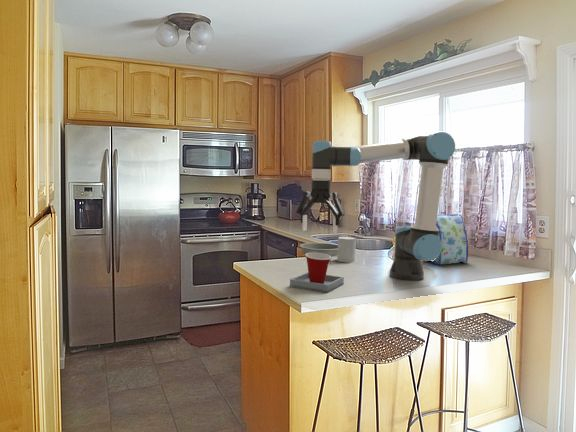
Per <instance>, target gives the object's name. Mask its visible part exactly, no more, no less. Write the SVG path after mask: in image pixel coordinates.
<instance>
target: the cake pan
mask: <svg viewBox="0 0 576 432" xmlns="http://www.w3.org/2000/svg"><path fill="white" fill-rule="evenodd" d="M299 247H300V248H301V253H302V254H304V255H305V254H306V253H323V254H327V255H330V256H331V257H336V256H338V244H335V243H325V242H308V243H307V242H305V243H300V244H299Z"/></svg>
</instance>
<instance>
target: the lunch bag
mask: <svg viewBox="0 0 576 432" xmlns="http://www.w3.org/2000/svg"><path fill="white" fill-rule="evenodd" d="M436 227H437V228H438V229H439V236H438V237H439V239H440V240H441V242H442V250H441V253H440V254H439V256H438V257H436V259H435V260H434V261H433V262H432V263H434V264H435V265H450V264H452V263H453V264H461V263H460V262H464V263H468V260H469V241H468V235H467V231H466V226H465V222H464V218H463V216H462V215H460V214H455V213H452V214H437V222H436Z"/></svg>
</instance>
